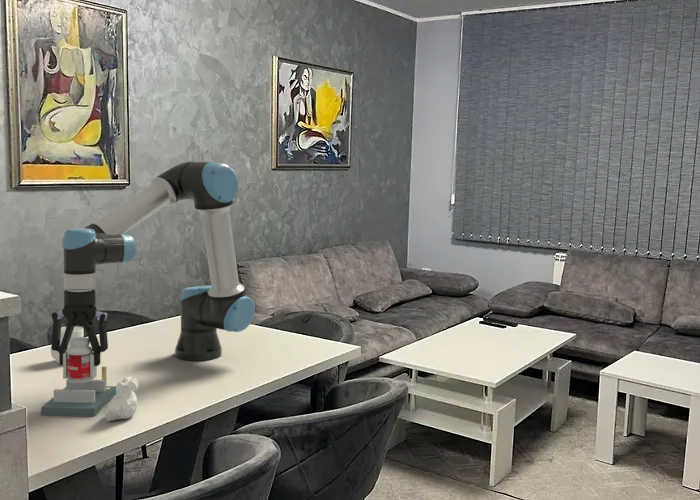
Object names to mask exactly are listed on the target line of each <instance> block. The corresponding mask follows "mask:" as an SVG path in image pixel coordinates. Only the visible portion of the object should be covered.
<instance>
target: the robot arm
mask: <svg viewBox="0 0 700 500" xmlns="http://www.w3.org/2000/svg"><path fill="white" fill-rule="evenodd" d="M238 179H239V178H238V175H237V174H236V172H235V170H234V169H233V167H230V166H229V165H228V164H226V163H223V162H216V161H184V162H181V163H179V164H176V165H175V166H173V167H170V168H169V169H167V170H166V171H164V172H163V173H160V174H158V175H157V176H156V177H155V178H153V179H152V180H151V184H150V185H149V186H147V187H145V188H143V189H142V190H140V191H139V192H138V193H136V194H135V195H133V196H131V197H130V198H128V199H127V200H125V201H124V202H122V203H121V204H119V205H117V206H116V207H114V208H113V209H112V210H110V211H108V212H107V213H105V214H104V215H102V216H100V218H97V219H95V220H94V221H93V222H92V223H90V224H89V225H87V226H85V227H83V228H75V227H74V228H68V229H66V230H65V231H64V235H63V237H62V239H61V240H62V241H61V247H62V249H63V288H64V289H65V290H64V291H63V305H64V306H63V308H62V310H60V311H59V310H56V311H54V312H52V313H51V318H52V322H53V324H52V338H51V345H52V350H53V351H58V352H59V363H60V364H59V363H58V364H59V365H60V366H62V379H66V380H67V351H66V350H67V347H68V344H69V341H70V338H71V335H72V332H73V329H74V327H77V326H79V327H83V329H84V330H85V331H86V334H87V338H89V341H90V344H89V345H90V347H91V348H92V350H93V353H92V354H90V379H92V380H95V378H97V376H98V375H97V373H98V371H97V370H98V369H97V367H98V366H99V365H101V355H102V354H101V353H105V351H107V350H108V349H109V342H108V341H109V340H108V329H107V320H108V316H109V313H108V312H101V311H99V310H98V309H97V306H96V290H95V288H96V267H97V266H96V265H106V264H119V263H120V264H123V263H126V262H130V261H132V260H133V259H134V258H135V257H136V255H137V251H138V250H137V242H136V240H135V239H134V236H132V235H130V234H128V233H127V232H129V231H130V230H132V229H133V228H135V227H137V226H138V225H139V224H141V223H142V222H144V221H145V220H146V219H148V218H149V217H151V216H152V215H154V214H155V213H156V212H158V211H160V210H161V209H162V208H164V207H165V206H169V207H170V206H173V205H175V203H178V202H180V201H185V200H193V205H194V209H195V210H196V211H197V212H198V213H199V214H200V216H201V225H202V229H203V230H202V231H203V236H204V237H203V238H204V244H205V251H206V258H207V264H208V271H209V277H210V283H211V284H210V285H197V286H192V287H185V288H183V289H182V291H181V295H180V333H179V337H178V339H177V343H176V345H175V349H174V352H175V353H174V355H175V356H174V357H175V358H178V359H181V360H184V361H185V360H186V361H209V360H214V359H217V358H219V357H222V354H223V353H222V352H223V351H222V350H223V349H222V344H221V342H220V338H219V336H218V332H217V329H219V330H223V331H226V332H230V333H231V332H234V333H240V332H243V331H244V330H246V329H247V328H248V327H249V326H250V325H251V324H252V323H251V322H252V321H253V319H254V316H255V312H256V307H255V302H254V300H253V299H252V298H251V297H249V296H247V295H246V290H245V289H246V288H245V286H244V285H243V284H242V283H240V279H239V274H238V268H237V267H238V266H237V259H236V252H235V245H234V238H233V237H234V236H233V229H232V228H233V227H232V222H231V215H230V209H231V208H232V207H233V205H234V199H235V198H236V196H237V195H238V193H237V192H238V191H239V187H240V186H239V180H238ZM126 233H127V234H126ZM63 317H65V319H66V320H67V323H66V325H65V327H66V330H65V333H64V336H63V339H62V342H61V345H60V336H61V327H62V322H63V321H62V319H63ZM95 317H96V319H97V321H98V337H99V338H98V337H97V333H96V330H95V328H94V322H93V320H94V319H95Z"/></svg>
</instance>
